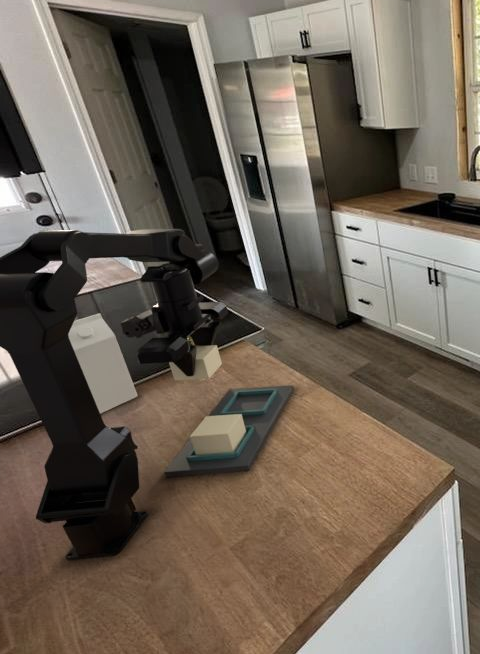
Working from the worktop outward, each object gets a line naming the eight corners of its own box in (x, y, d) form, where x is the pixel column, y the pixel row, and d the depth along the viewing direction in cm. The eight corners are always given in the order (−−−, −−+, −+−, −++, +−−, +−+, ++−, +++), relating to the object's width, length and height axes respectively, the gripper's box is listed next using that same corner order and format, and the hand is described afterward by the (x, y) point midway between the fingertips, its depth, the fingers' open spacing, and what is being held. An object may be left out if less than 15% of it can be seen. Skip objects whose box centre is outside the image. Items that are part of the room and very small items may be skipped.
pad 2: (233, 453, 72) (227, 433, 70) (196, 456, 71) (189, 436, 70) (246, 432, 77) (241, 413, 75) (211, 435, 76) (205, 416, 74)
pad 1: (209, 378, 79) (203, 358, 78) (174, 380, 78) (168, 360, 77) (222, 363, 84) (216, 345, 82) (189, 365, 83) (183, 346, 81)
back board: (249, 470, 70) (246, 461, 70) (165, 477, 69) (162, 468, 68) (294, 389, 91) (292, 382, 90) (230, 393, 89) (228, 385, 88)
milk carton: (79, 405, 84) (42, 323, 77) (122, 386, 90) (92, 309, 83) (94, 417, 81) (58, 333, 74) (138, 396, 87) (108, 317, 80)
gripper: (159, 278, 82) (180, 345, 88) (85, 322, 65) (117, 402, 71) (220, 276, 84) (237, 342, 90) (163, 318, 67) (188, 397, 73)
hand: (198, 367), depth 81 cm, fingers closed on pad 1, 5 cm apart
